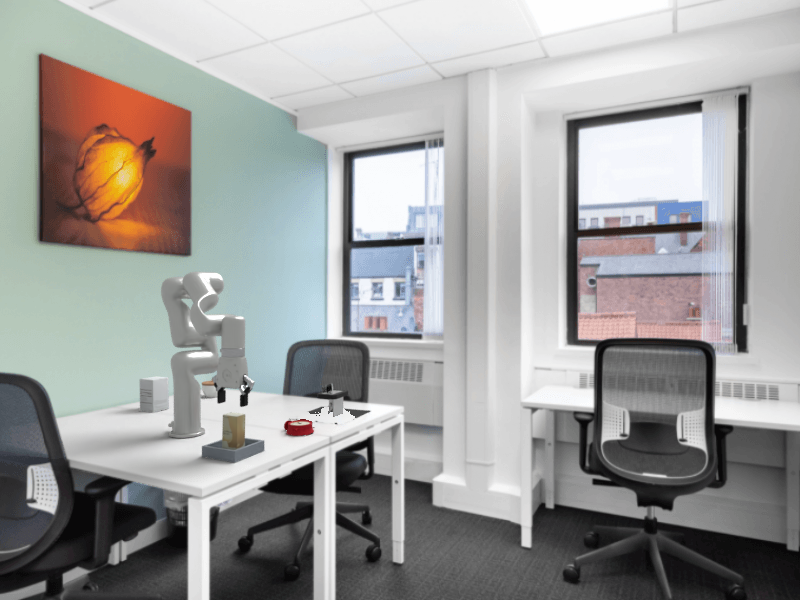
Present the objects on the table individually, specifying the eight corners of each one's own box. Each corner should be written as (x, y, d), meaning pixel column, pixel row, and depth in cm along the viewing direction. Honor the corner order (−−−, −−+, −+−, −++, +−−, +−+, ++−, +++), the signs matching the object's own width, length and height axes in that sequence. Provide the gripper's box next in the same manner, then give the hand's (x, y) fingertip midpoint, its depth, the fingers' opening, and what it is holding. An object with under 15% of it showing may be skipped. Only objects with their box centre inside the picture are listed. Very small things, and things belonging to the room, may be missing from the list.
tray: (201, 456, 171) (201, 446, 171) (232, 445, 184) (232, 435, 184) (234, 462, 165) (234, 451, 165) (264, 450, 178) (264, 440, 178)
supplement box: (155, 407, 249) (155, 375, 249) (169, 409, 245) (169, 377, 245) (138, 411, 241) (138, 378, 241) (152, 413, 237) (152, 379, 237)
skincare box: (221, 451, 174) (221, 414, 174) (230, 447, 178) (230, 411, 178) (237, 453, 171) (237, 416, 171) (245, 450, 175) (245, 413, 175)
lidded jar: (227, 395, 280) (227, 377, 280) (217, 399, 270) (217, 380, 270) (208, 394, 282) (208, 377, 282) (197, 398, 271) (197, 380, 271)
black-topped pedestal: (321, 406, 250) (321, 378, 250) (371, 411, 240) (371, 381, 240) (287, 419, 224) (287, 388, 224) (342, 425, 214) (342, 392, 214)
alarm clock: (292, 428, 194) (280, 412, 206) (291, 444, 195) (279, 427, 208) (318, 425, 199) (306, 409, 211) (317, 440, 200) (304, 424, 213)
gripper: (205, 352, 175) (204, 403, 175) (245, 356, 167) (245, 409, 168) (221, 350, 182) (221, 399, 182) (261, 353, 174) (260, 405, 175)
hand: (232, 404), depth 175 cm, fingers open, 9 cm apart
